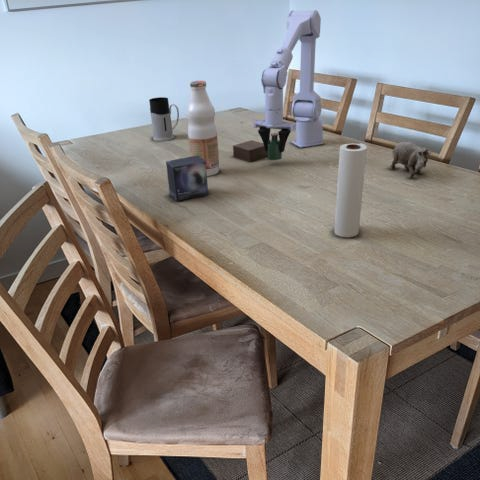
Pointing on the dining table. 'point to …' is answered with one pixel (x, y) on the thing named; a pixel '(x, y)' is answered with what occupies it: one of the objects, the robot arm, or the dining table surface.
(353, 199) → the paper towel roll
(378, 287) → the dining table surface
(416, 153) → the rhinoceros figurine
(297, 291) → the dining table surface
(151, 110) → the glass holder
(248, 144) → the block
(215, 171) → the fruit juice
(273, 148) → the bottle
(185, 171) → the small box
